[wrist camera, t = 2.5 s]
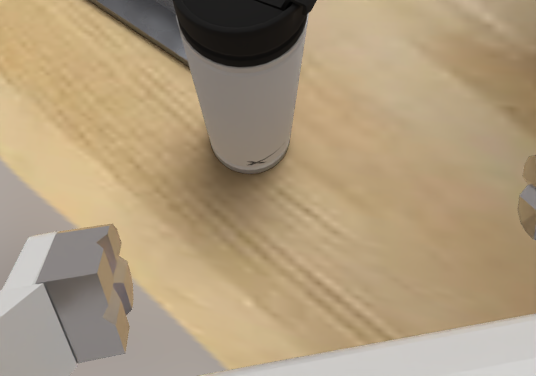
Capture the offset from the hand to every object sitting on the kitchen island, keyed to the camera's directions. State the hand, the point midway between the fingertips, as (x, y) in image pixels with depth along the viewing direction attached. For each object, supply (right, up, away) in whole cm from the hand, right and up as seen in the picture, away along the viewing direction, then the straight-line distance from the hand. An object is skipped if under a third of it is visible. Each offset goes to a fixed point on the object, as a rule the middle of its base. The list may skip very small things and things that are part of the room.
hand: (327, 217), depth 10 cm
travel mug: (-2, +4, +30) cm, 31 cm away
